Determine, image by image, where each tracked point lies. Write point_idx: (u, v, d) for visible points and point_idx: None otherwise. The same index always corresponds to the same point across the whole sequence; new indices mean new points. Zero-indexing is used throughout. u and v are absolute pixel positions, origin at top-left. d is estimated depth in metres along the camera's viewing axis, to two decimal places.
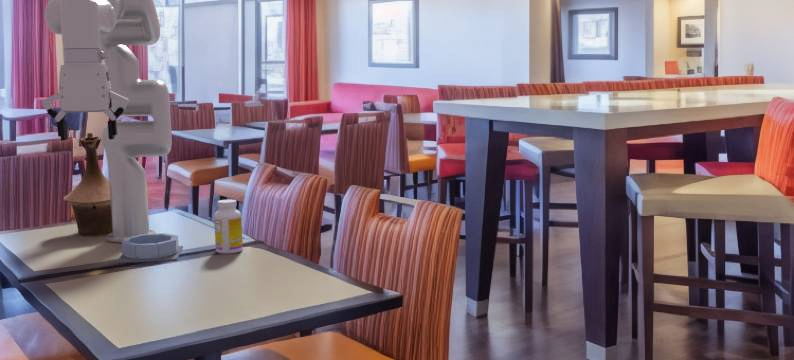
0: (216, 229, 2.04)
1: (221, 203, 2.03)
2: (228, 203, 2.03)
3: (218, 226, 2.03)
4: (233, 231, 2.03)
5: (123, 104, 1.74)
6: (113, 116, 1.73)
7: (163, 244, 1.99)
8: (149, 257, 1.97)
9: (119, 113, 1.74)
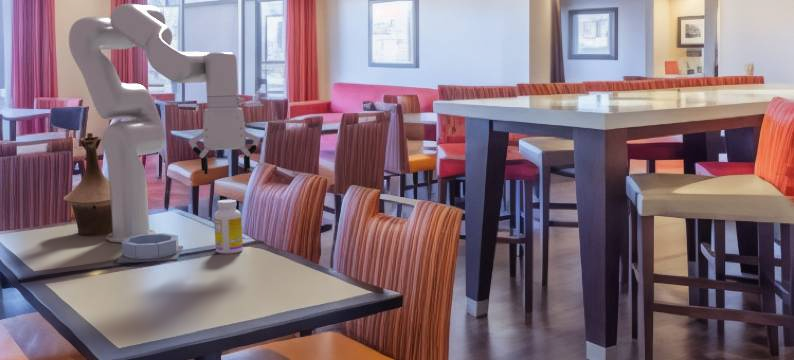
0: (216, 229, 2.04)
1: (221, 203, 2.03)
2: (228, 203, 2.03)
3: (218, 226, 2.03)
4: (233, 231, 2.03)
5: (256, 142, 2.03)
6: (248, 152, 2.02)
7: (163, 244, 1.99)
8: (149, 257, 1.97)
9: (253, 150, 2.03)
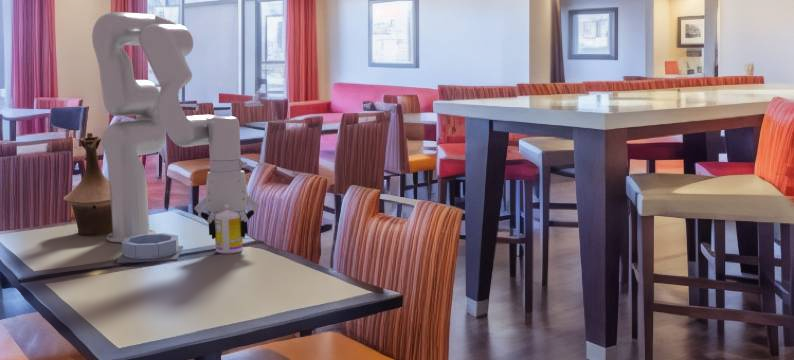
0: (216, 229, 2.04)
1: None
2: None
3: (218, 225, 2.03)
4: (233, 231, 2.03)
5: (255, 208, 2.05)
6: (246, 218, 2.05)
7: (163, 244, 1.99)
8: (149, 257, 1.97)
9: (250, 215, 2.05)
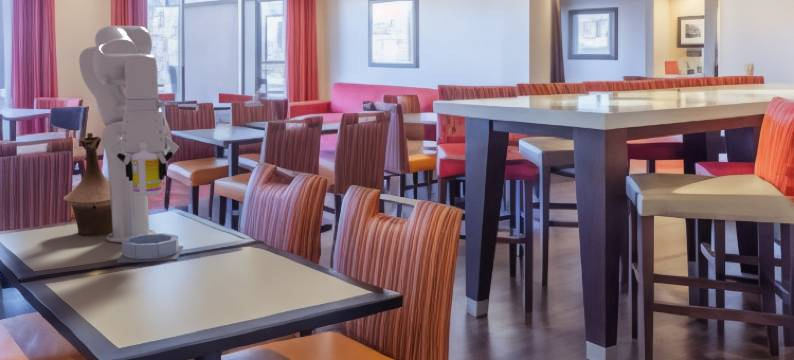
0: (133, 170, 1.98)
1: None
2: (145, 143, 1.97)
3: (135, 167, 1.98)
4: (150, 173, 1.98)
5: (173, 150, 2.00)
6: (164, 160, 2.00)
7: (163, 244, 1.99)
8: (149, 257, 1.97)
9: (169, 157, 2.00)
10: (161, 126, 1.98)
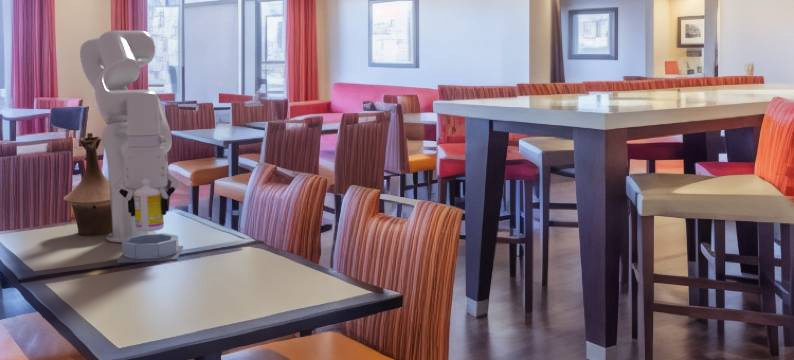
0: (135, 206, 1.99)
1: None
2: (147, 179, 1.99)
3: (137, 202, 1.99)
4: (152, 208, 1.99)
5: (175, 185, 2.01)
6: (166, 195, 2.01)
7: (163, 244, 1.99)
8: (149, 257, 1.97)
9: (171, 192, 2.01)
10: (163, 162, 1.99)
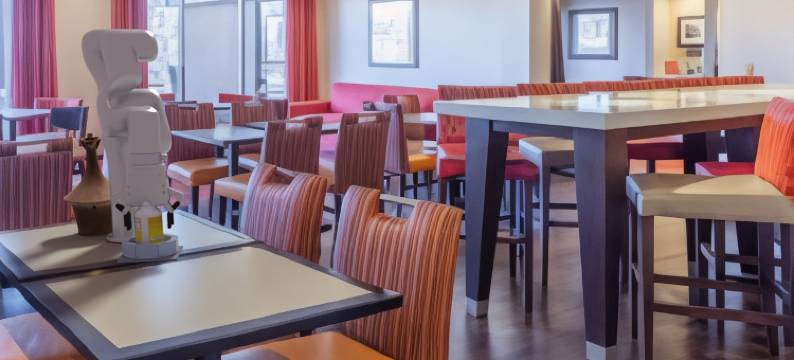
0: (136, 227, 2.01)
1: None
2: None
3: (137, 224, 2.00)
4: (152, 230, 2.00)
5: (180, 198, 2.02)
6: (171, 209, 2.02)
7: (163, 244, 1.99)
8: (149, 257, 1.97)
9: (176, 206, 2.02)
10: (164, 179, 2.00)
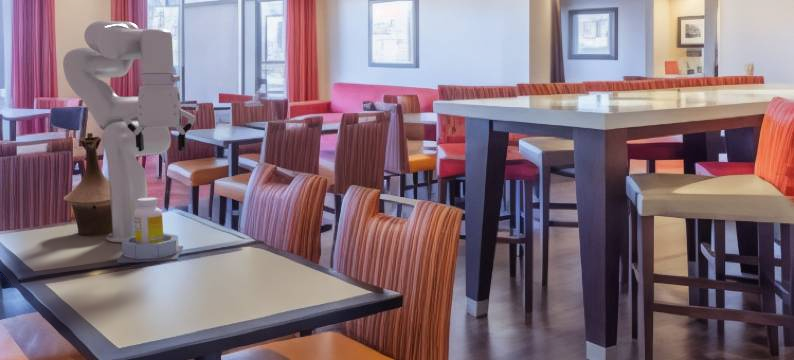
0: (136, 227, 2.01)
1: (140, 201, 2.00)
2: (147, 201, 2.00)
3: (137, 224, 2.00)
4: (152, 230, 2.00)
5: (191, 120, 2.02)
6: (183, 131, 2.02)
7: (163, 244, 1.99)
8: (149, 257, 1.97)
9: (188, 128, 2.02)
10: (176, 100, 2.00)
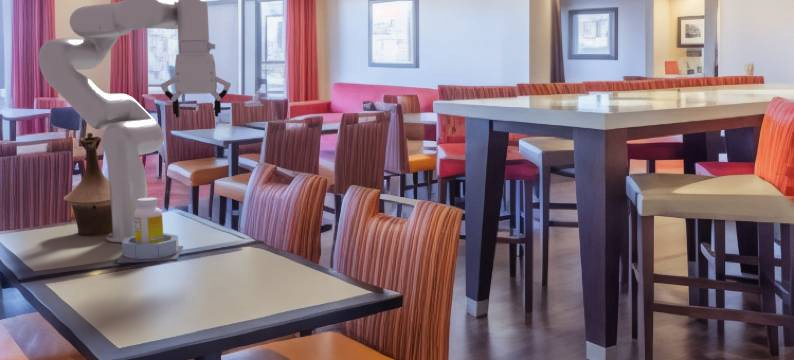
0: (136, 227, 2.01)
1: (140, 201, 2.00)
2: (147, 201, 2.00)
3: (137, 224, 2.00)
4: (152, 230, 2.00)
5: (227, 87, 2.09)
6: (219, 97, 2.08)
7: (163, 244, 1.99)
8: (149, 257, 1.97)
9: (223, 94, 2.09)
10: (212, 67, 2.06)
